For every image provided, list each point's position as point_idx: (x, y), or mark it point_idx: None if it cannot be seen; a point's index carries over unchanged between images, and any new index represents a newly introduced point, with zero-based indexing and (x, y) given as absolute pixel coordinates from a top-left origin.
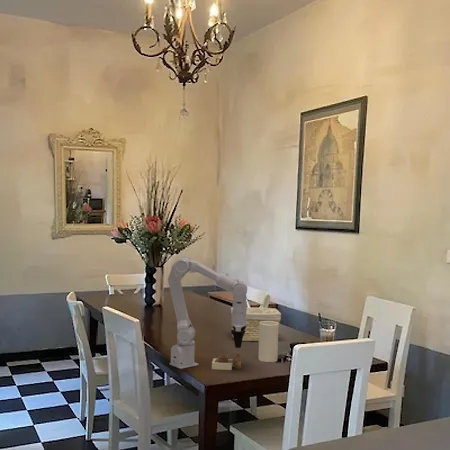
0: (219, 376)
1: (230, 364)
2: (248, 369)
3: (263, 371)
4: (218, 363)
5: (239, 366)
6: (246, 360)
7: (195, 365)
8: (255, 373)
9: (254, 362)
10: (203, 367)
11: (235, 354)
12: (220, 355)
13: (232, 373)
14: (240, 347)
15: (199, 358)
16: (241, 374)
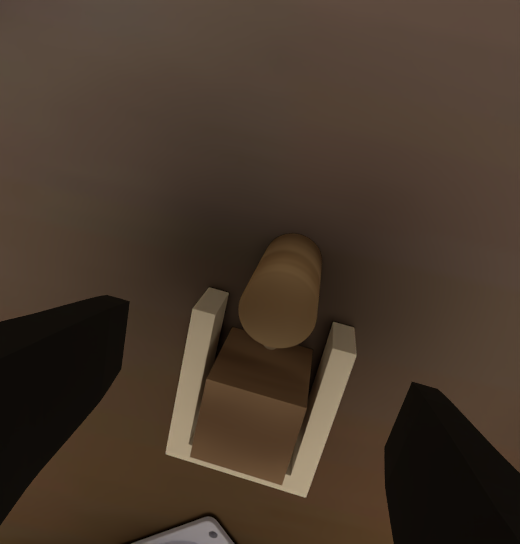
0: (511, 452)
1: (353, 362)
2: (350, 170)
3: (447, 13)
4: (320, 453)
5: (320, 259)
6: (52, 125)
7: (229, 538)
8: (501, 126)
9: (112, 52)
10: (260, 496)
11: (276, 342)
12: (215, 450)
13: (451, 341)
14: (439, 393)
15: (42, 470)
16: (500, 272)
